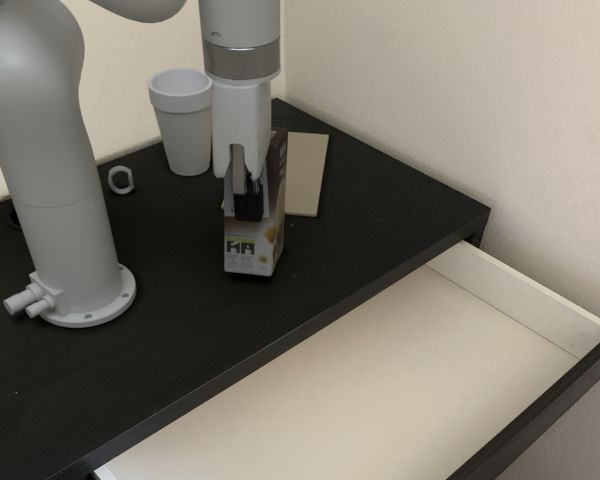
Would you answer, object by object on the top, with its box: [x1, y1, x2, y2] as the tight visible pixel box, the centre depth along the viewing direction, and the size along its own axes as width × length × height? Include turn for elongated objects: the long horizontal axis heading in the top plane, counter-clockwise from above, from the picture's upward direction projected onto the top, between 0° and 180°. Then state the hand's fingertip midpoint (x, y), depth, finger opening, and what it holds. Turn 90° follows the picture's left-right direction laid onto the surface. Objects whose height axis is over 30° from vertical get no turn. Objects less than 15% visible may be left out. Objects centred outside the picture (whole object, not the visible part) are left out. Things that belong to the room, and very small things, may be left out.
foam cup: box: [146, 67, 212, 177], centre depth 100 cm, size 10×9×13 cm
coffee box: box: [223, 126, 289, 277], centre depth 83 cm, size 9×6×16 cm
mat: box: [220, 131, 330, 218], centre depth 104 cm, size 24×14×1 cm, turn 174°
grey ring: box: [107, 165, 135, 195], centre depth 98 cm, size 4×2×4 cm, turn 105°
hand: (249, 217), depth 78 cm, fingers closed
